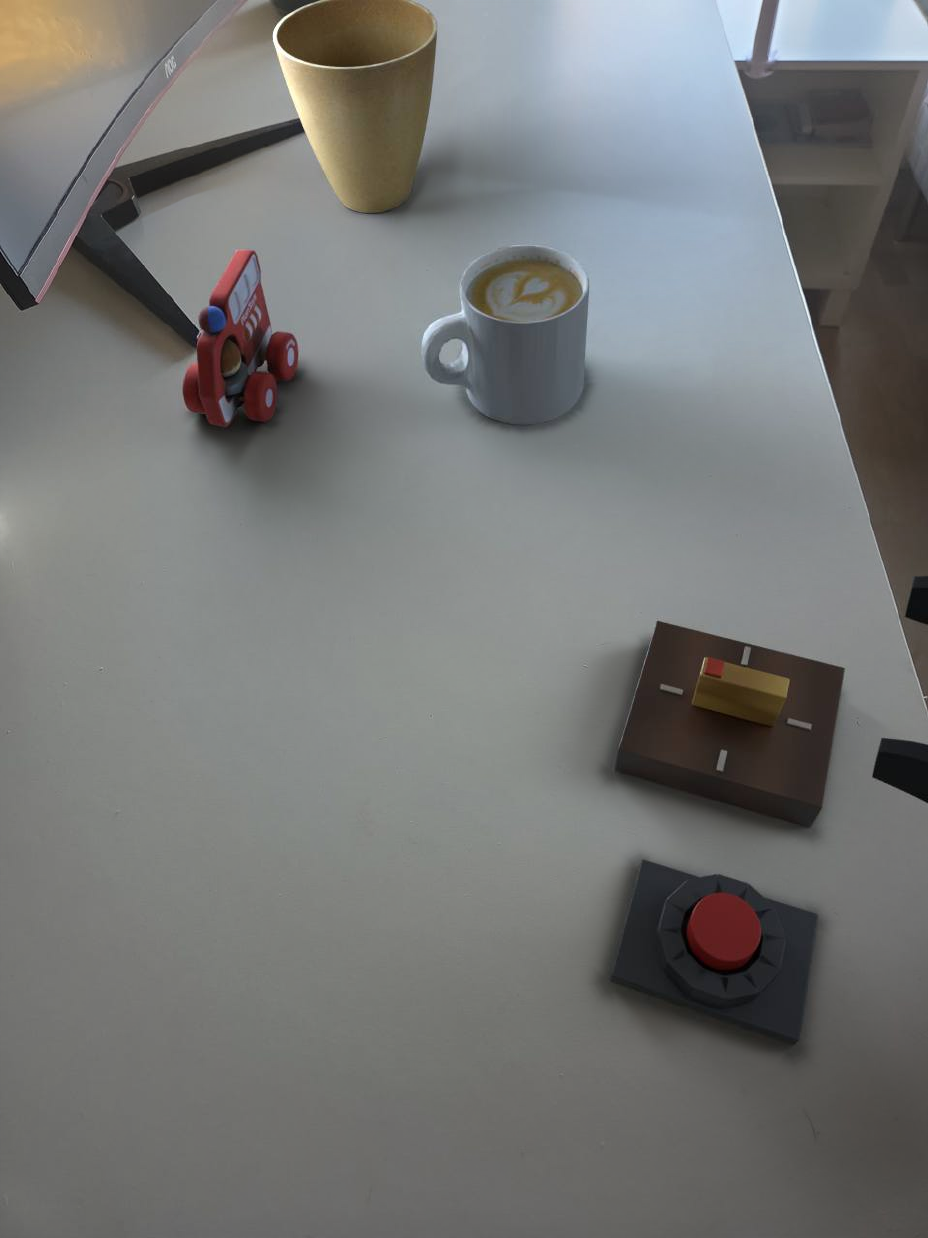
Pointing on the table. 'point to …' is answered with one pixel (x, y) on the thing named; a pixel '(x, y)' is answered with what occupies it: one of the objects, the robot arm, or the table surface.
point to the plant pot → (362, 92)
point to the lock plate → (732, 728)
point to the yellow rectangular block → (740, 691)
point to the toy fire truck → (238, 349)
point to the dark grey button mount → (671, 972)
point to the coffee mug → (517, 334)
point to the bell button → (723, 931)
